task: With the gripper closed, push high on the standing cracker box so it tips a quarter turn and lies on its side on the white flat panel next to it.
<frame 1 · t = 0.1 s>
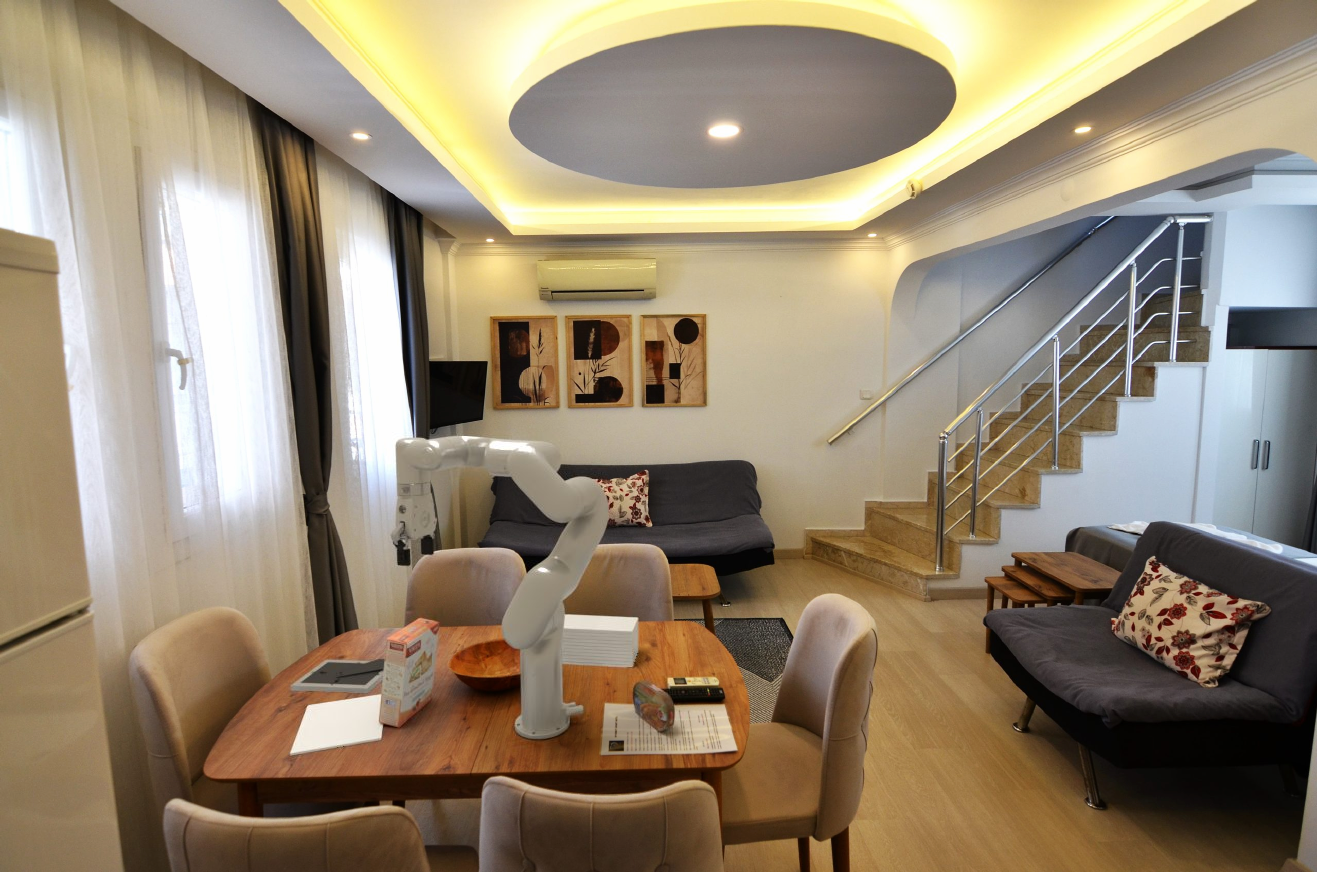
hand: (416, 559, 156), 37 cm above the table, tool pointing down, fingers open, 9 cm apart
cracker box: (406, 712, 156), on the table
picture frame: (346, 681, 175), on the table
tin: (653, 722, 152), on the table
stack of papers: (581, 658, 188), on the table
white flat panel: (342, 722, 152), on the table
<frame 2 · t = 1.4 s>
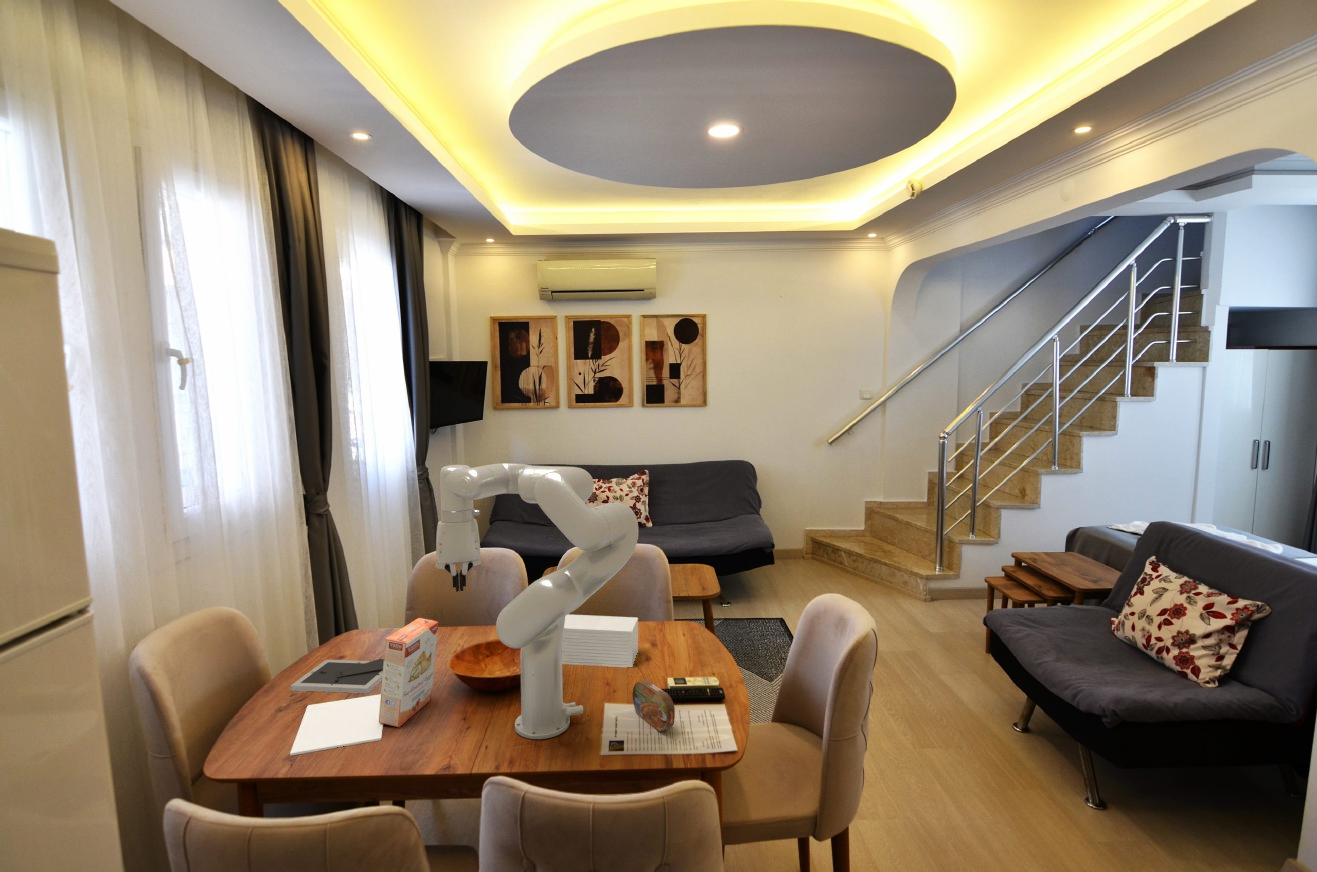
hand: (459, 589, 158), 29 cm above the table, tool pointing down, fingers closed
cracker box: (406, 712, 156), on the table, touching white flat panel
everything else where it was.
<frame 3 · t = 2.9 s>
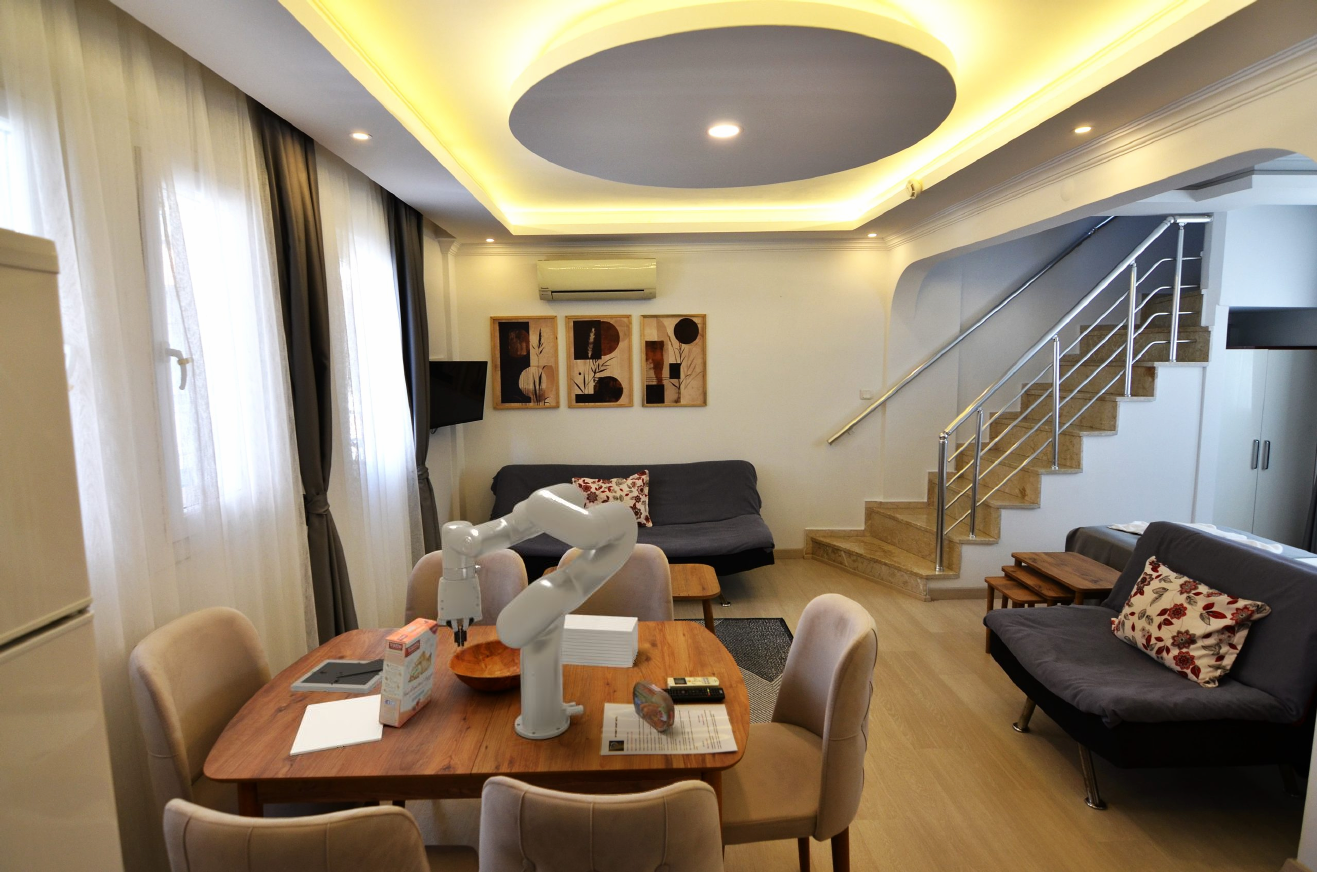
hand: (460, 644, 160), 15 cm above the table, tool pointing down, fingers closed
nothing on the table moved.
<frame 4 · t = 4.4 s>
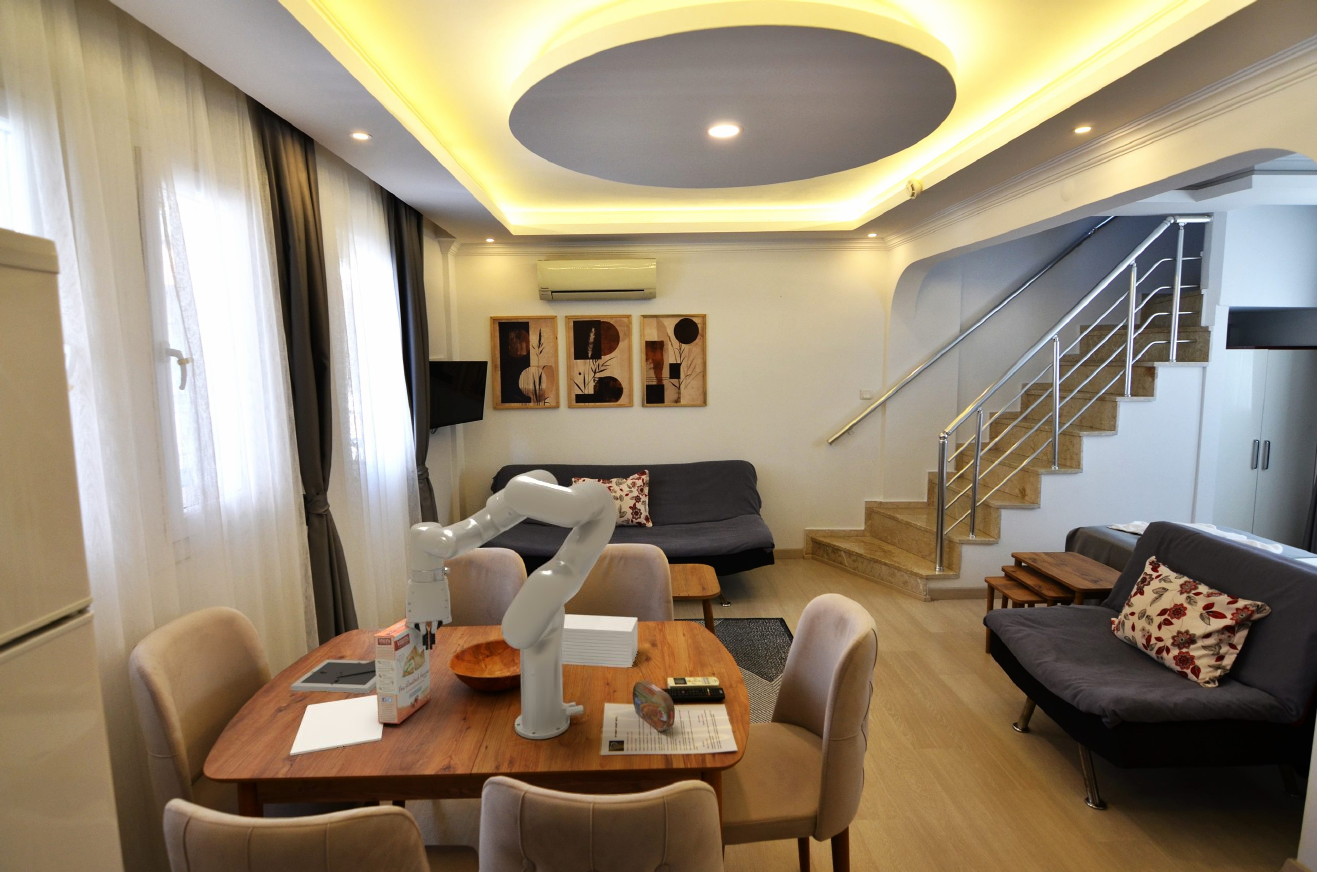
hand: (429, 647, 157), 15 cm above the table, tool pointing down, fingers closed
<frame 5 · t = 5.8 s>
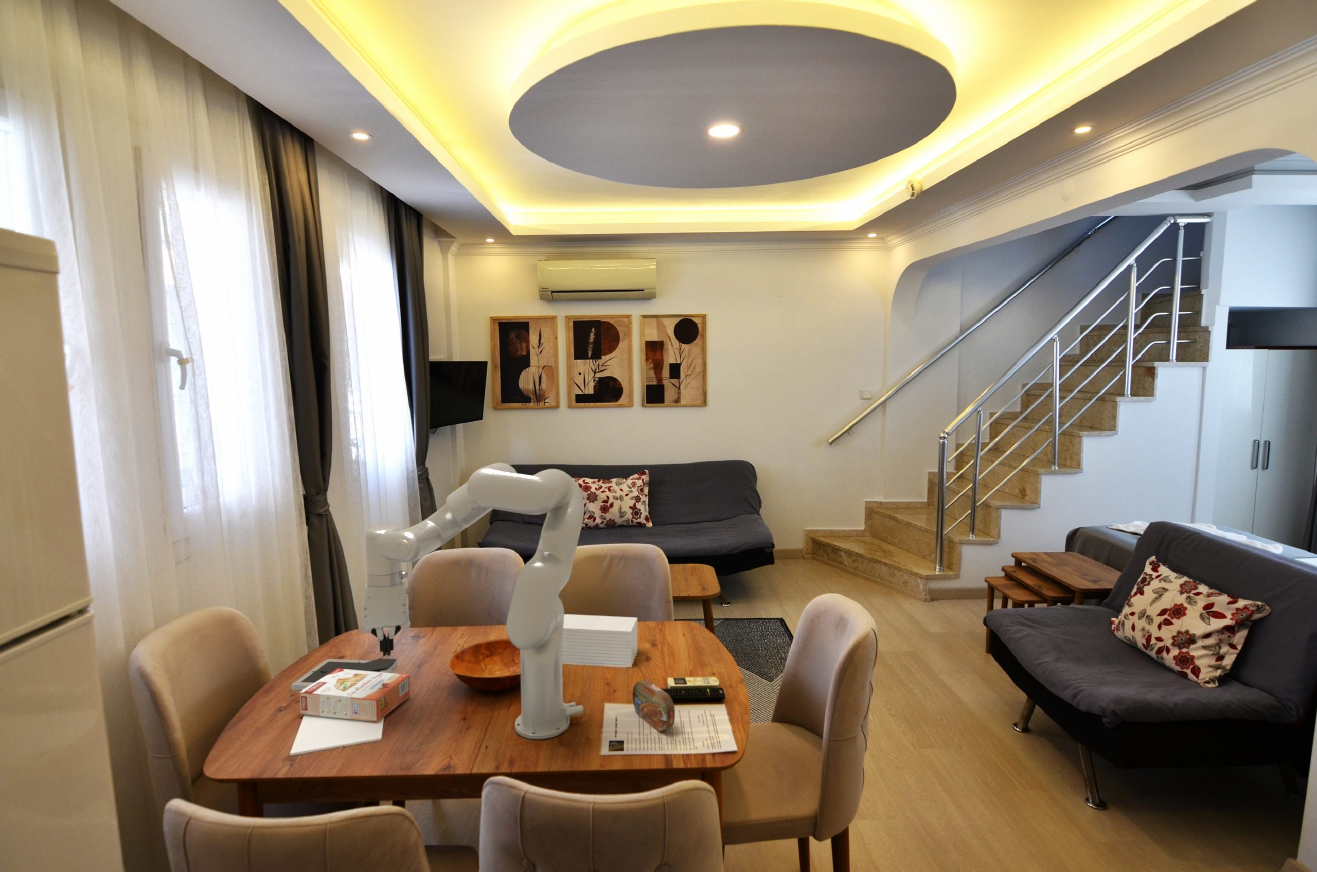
hand: (387, 653, 154), 15 cm above the table, tool pointing down, fingers closed
cracker box: (396, 696, 157), point 4 cm above the table, touching white flat panel
everything else where it was.
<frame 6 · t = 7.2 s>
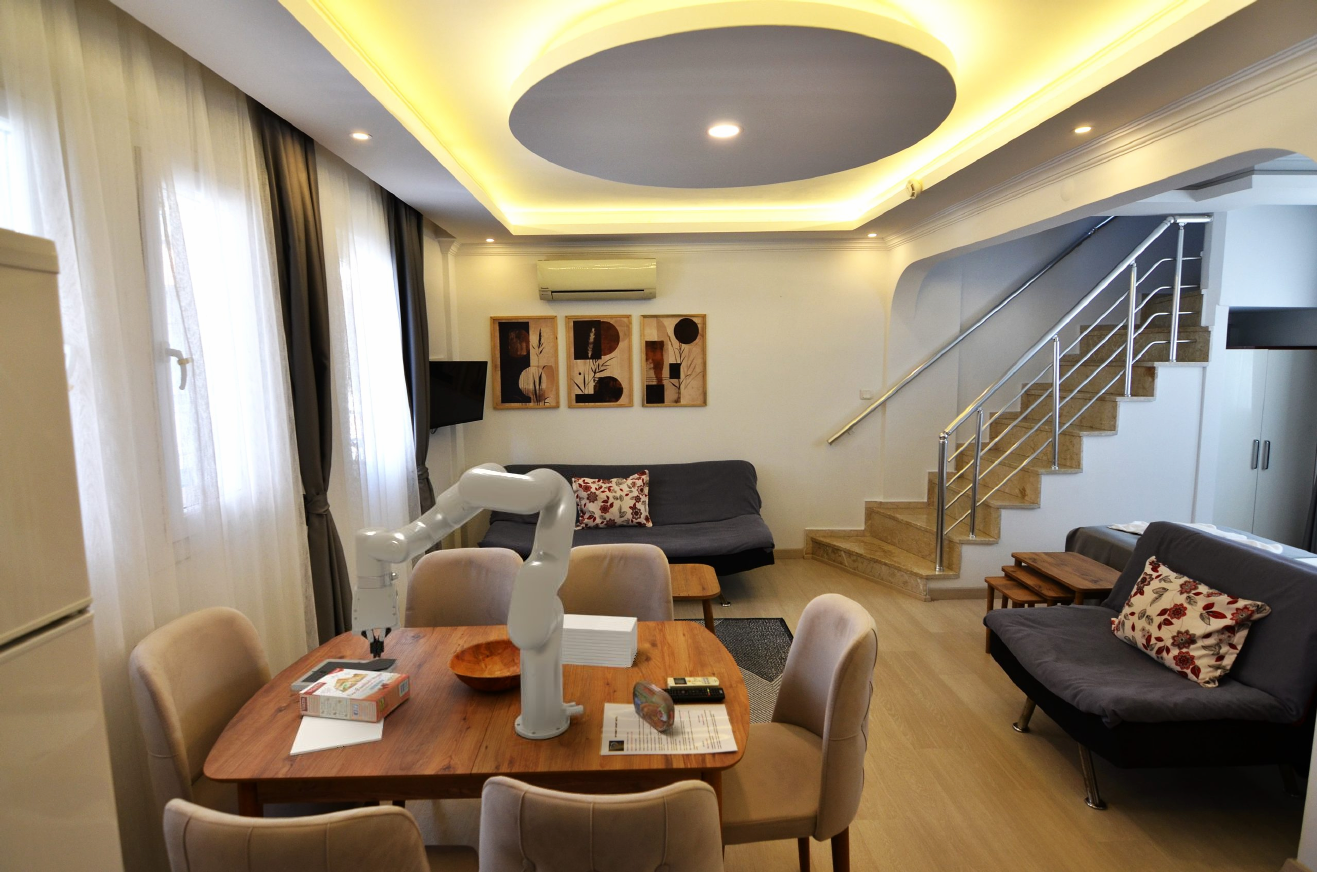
hand: (377, 655, 153), 15 cm above the table, tool pointing down, fingers closed
nothing on the table moved.
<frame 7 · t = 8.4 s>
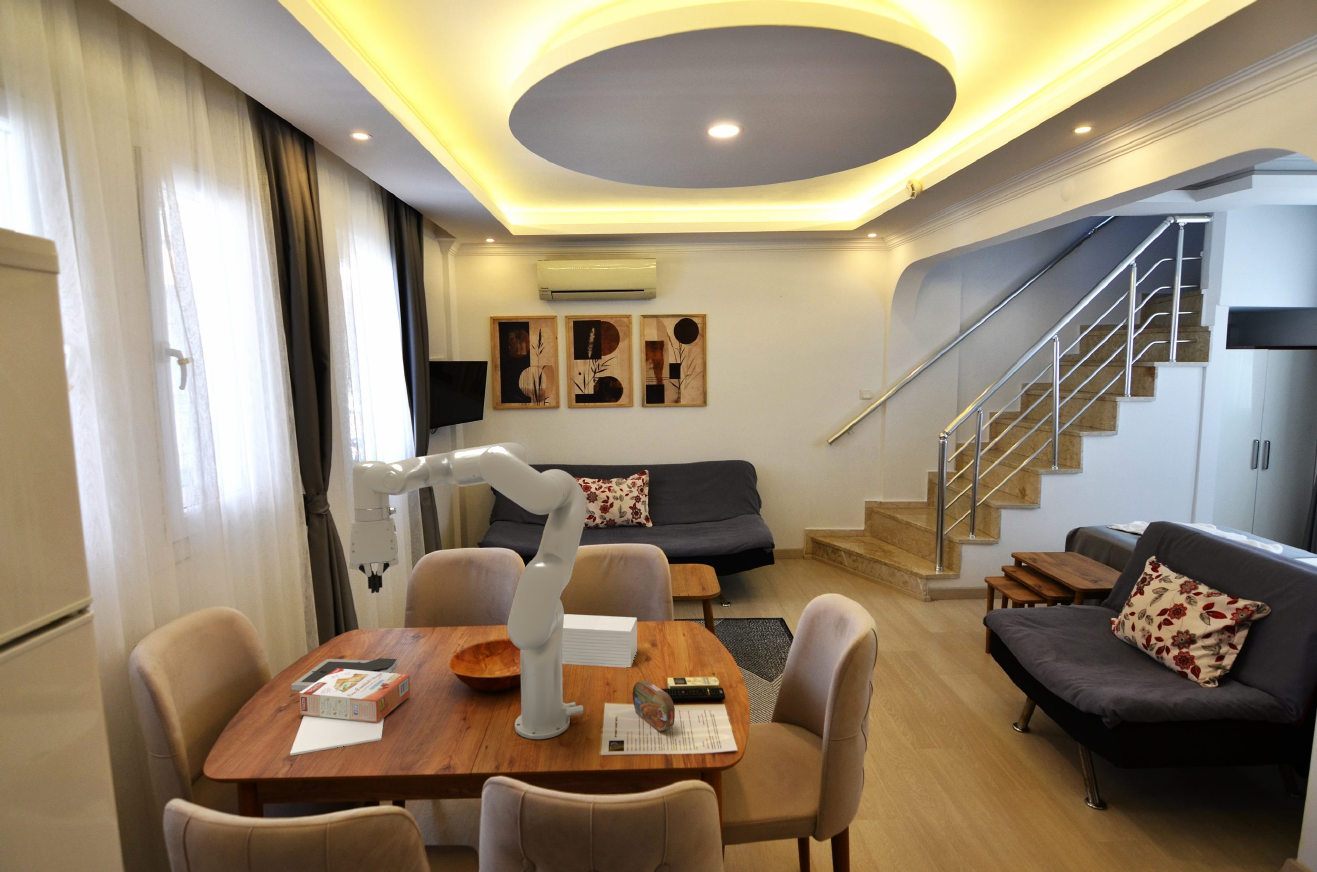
hand: (375, 591, 152), 31 cm above the table, tool pointing down, fingers closed
nothing on the table moved.
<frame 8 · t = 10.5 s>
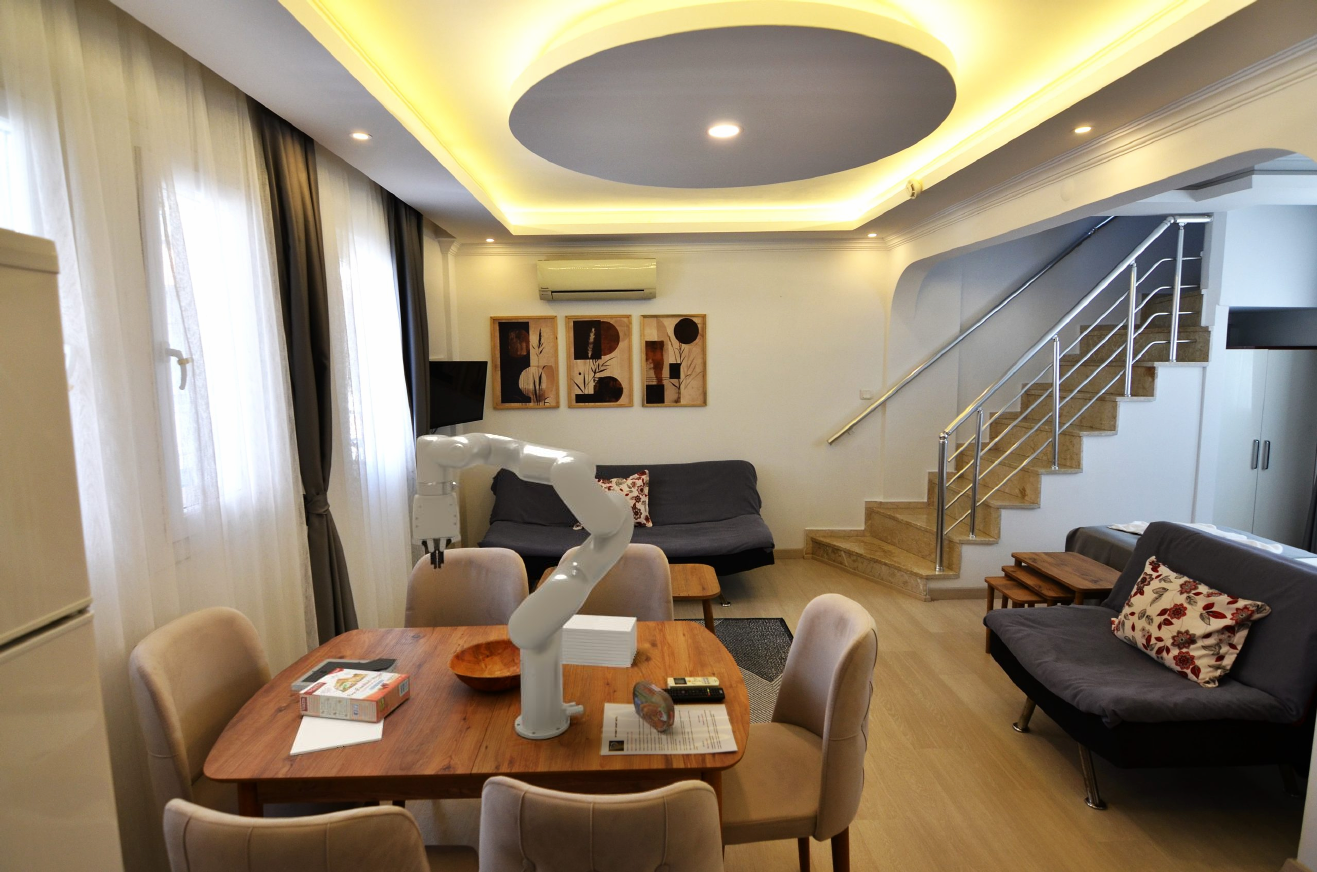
hand: (437, 567, 149), 37 cm above the table, tool pointing down, fingers closed
nothing on the table moved.
at the end: cracker box tilted 91°; cracker box touching white flat panel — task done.
